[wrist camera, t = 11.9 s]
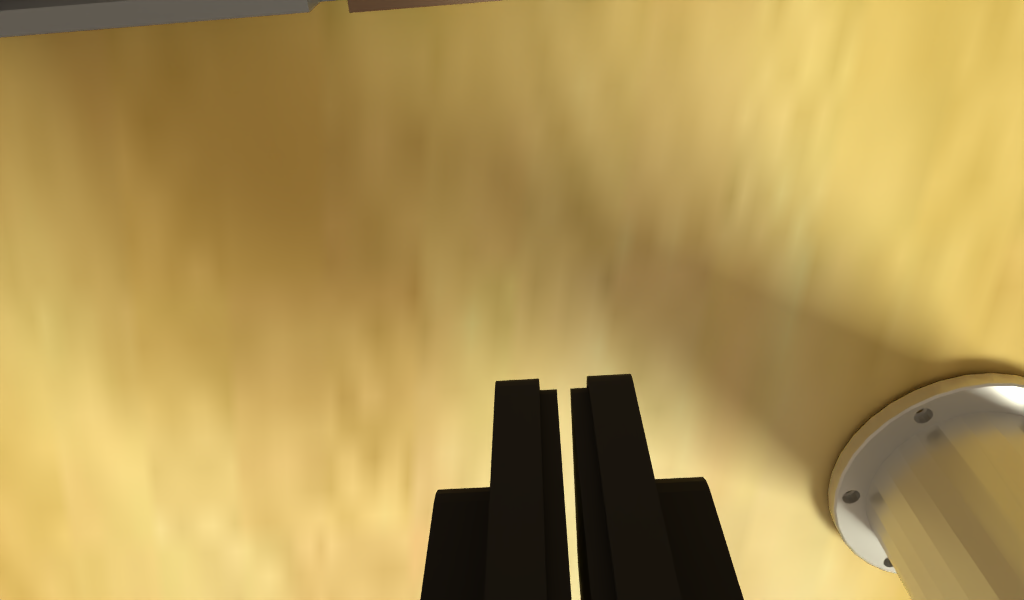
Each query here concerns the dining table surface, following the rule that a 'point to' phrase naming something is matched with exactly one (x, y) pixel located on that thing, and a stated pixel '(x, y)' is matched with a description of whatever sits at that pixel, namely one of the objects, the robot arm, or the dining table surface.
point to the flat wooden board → (401, 4)
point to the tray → (130, 13)
